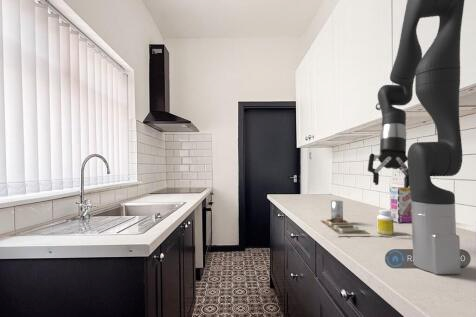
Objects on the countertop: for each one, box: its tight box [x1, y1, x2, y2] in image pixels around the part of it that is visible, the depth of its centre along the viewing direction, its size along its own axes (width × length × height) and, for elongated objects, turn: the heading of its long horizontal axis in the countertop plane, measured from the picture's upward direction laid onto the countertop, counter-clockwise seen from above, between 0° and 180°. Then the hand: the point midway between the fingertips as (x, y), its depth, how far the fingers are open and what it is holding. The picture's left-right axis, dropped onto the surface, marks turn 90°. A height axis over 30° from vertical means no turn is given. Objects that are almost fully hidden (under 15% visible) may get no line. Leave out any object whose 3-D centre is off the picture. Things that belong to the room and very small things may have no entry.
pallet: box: [320, 218, 372, 238], centre depth 108 cm, size 24×12×2 cm, turn 179°
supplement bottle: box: [376, 209, 395, 238], centre depth 97 cm, size 5×5×10 cm
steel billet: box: [330, 199, 344, 223], centre depth 114 cm, size 5×5×10 cm
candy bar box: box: [389, 186, 412, 224], centre depth 121 cm, size 11×5×16 cm, turn 108°
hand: (391, 186), depth 83 cm, fingers open, 8 cm apart
